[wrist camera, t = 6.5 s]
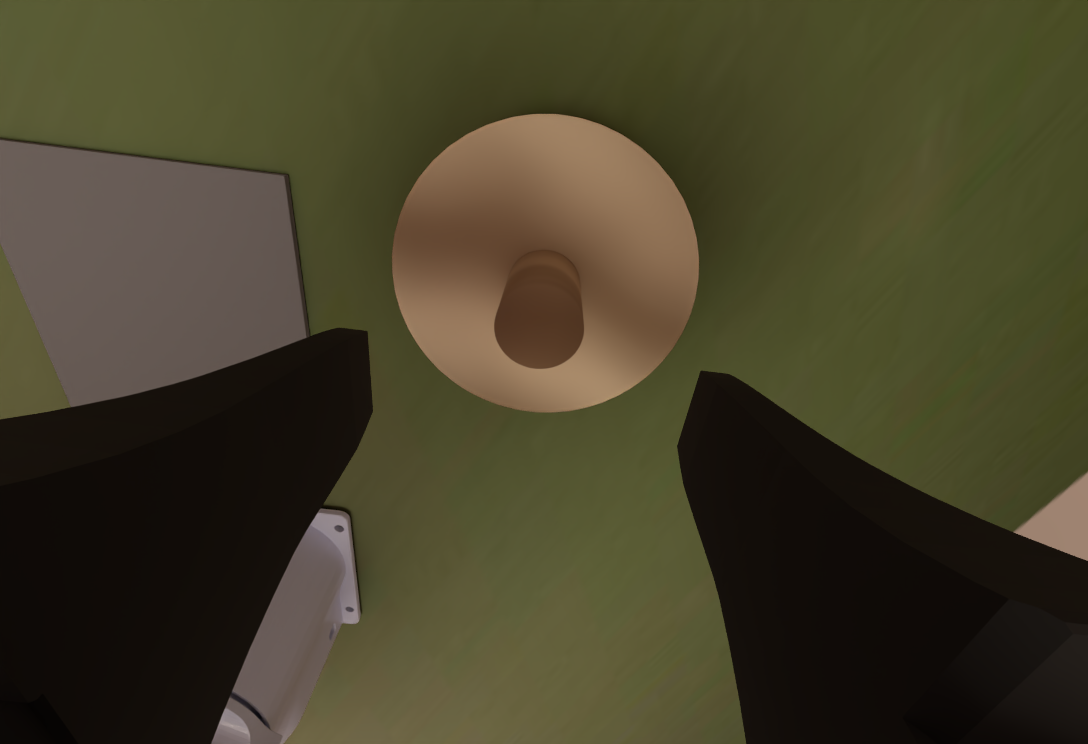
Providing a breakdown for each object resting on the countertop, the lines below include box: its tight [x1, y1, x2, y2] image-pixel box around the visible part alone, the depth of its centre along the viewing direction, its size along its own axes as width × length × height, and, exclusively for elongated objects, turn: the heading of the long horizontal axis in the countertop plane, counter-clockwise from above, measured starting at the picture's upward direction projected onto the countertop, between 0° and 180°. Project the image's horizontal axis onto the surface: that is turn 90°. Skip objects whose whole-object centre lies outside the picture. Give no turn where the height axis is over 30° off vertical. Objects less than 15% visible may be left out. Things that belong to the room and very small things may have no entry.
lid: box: [392, 114, 699, 412], centre depth 15 cm, size 10×10×4 cm
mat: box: [0, 139, 310, 407], centre depth 21 cm, size 12×12×1 cm
